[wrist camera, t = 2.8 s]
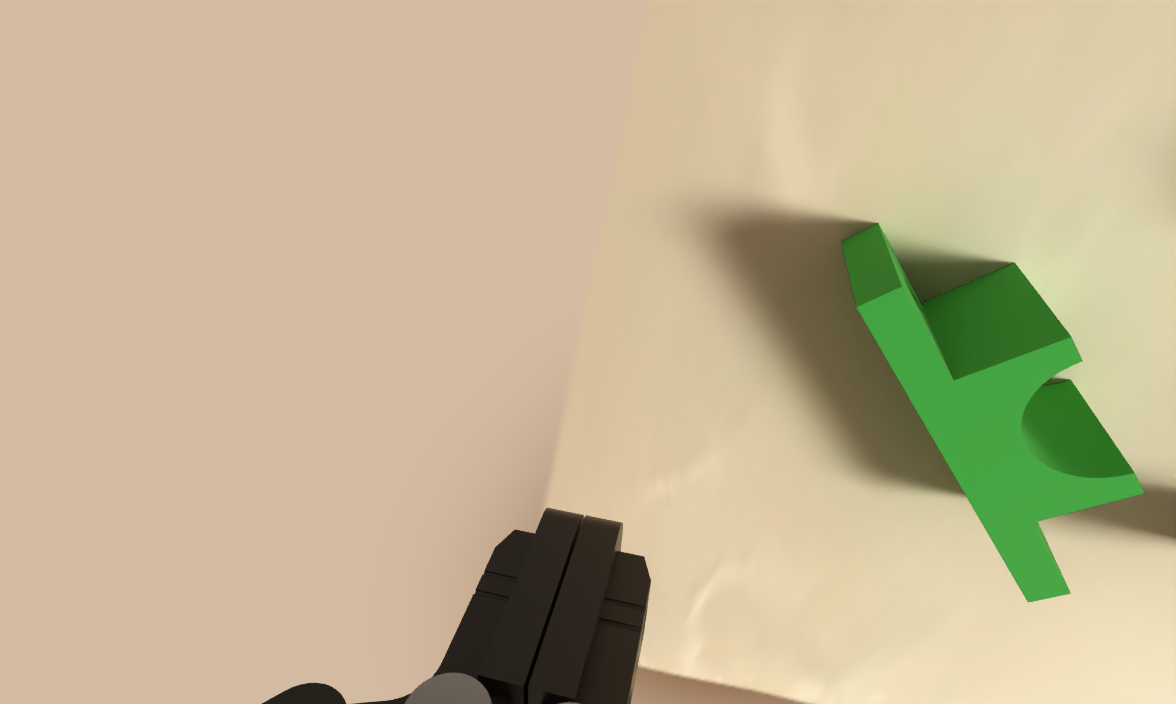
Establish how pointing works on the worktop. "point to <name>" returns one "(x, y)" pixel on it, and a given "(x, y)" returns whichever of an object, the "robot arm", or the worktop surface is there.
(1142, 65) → the worktop surface
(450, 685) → the robot arm
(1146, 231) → the worktop surface
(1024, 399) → the pipe clamp
